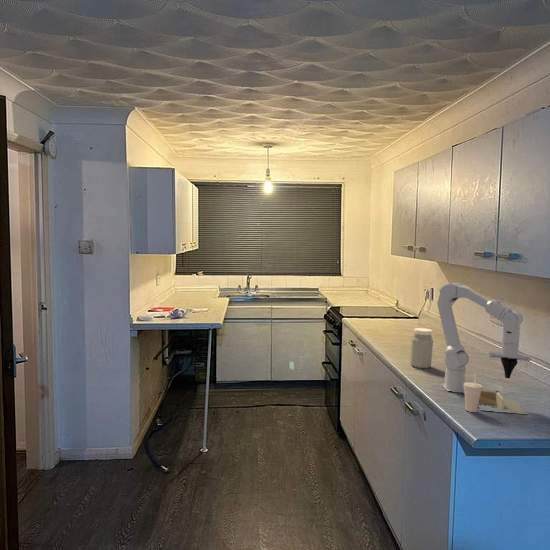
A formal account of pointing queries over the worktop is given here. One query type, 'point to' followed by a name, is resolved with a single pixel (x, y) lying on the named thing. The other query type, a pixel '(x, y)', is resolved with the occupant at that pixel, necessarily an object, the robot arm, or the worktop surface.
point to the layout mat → (506, 406)
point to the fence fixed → (487, 396)
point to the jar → (421, 348)
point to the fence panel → (499, 401)
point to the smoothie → (472, 395)
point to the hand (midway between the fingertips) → (507, 377)
